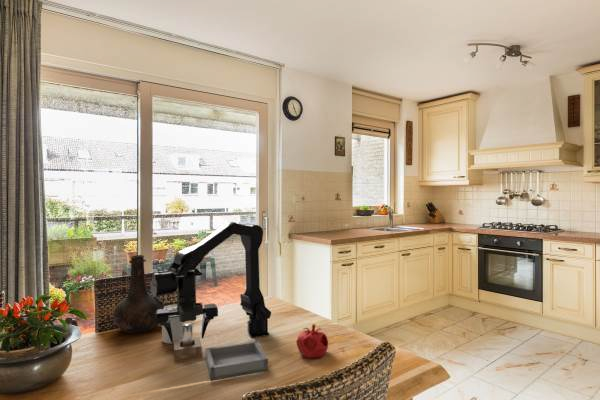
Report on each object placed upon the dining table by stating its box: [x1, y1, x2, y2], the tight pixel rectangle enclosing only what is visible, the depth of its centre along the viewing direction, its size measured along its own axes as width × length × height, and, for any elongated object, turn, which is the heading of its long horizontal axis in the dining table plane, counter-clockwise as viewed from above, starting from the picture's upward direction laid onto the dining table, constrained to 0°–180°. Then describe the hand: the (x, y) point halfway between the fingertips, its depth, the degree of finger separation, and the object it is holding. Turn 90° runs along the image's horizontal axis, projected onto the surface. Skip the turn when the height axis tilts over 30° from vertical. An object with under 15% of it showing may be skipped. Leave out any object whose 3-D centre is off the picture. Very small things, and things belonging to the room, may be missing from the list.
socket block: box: [173, 336, 203, 361], centre depth 117 cm, size 8×8×4 cm
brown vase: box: [112, 254, 165, 334], centre depth 139 cm, size 18×18×28 cm
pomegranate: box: [295, 323, 329, 359], centre depth 116 cm, size 10×10×9 cm
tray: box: [205, 340, 269, 382], centre depth 109 cm, size 16×14×4 cm
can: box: [161, 304, 186, 345], centre depth 128 cm, size 8×8×12 cm
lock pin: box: [182, 322, 194, 347], centre depth 117 cm, size 3×3×9 cm
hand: (187, 340), depth 117 cm, fingers open, 9 cm apart
